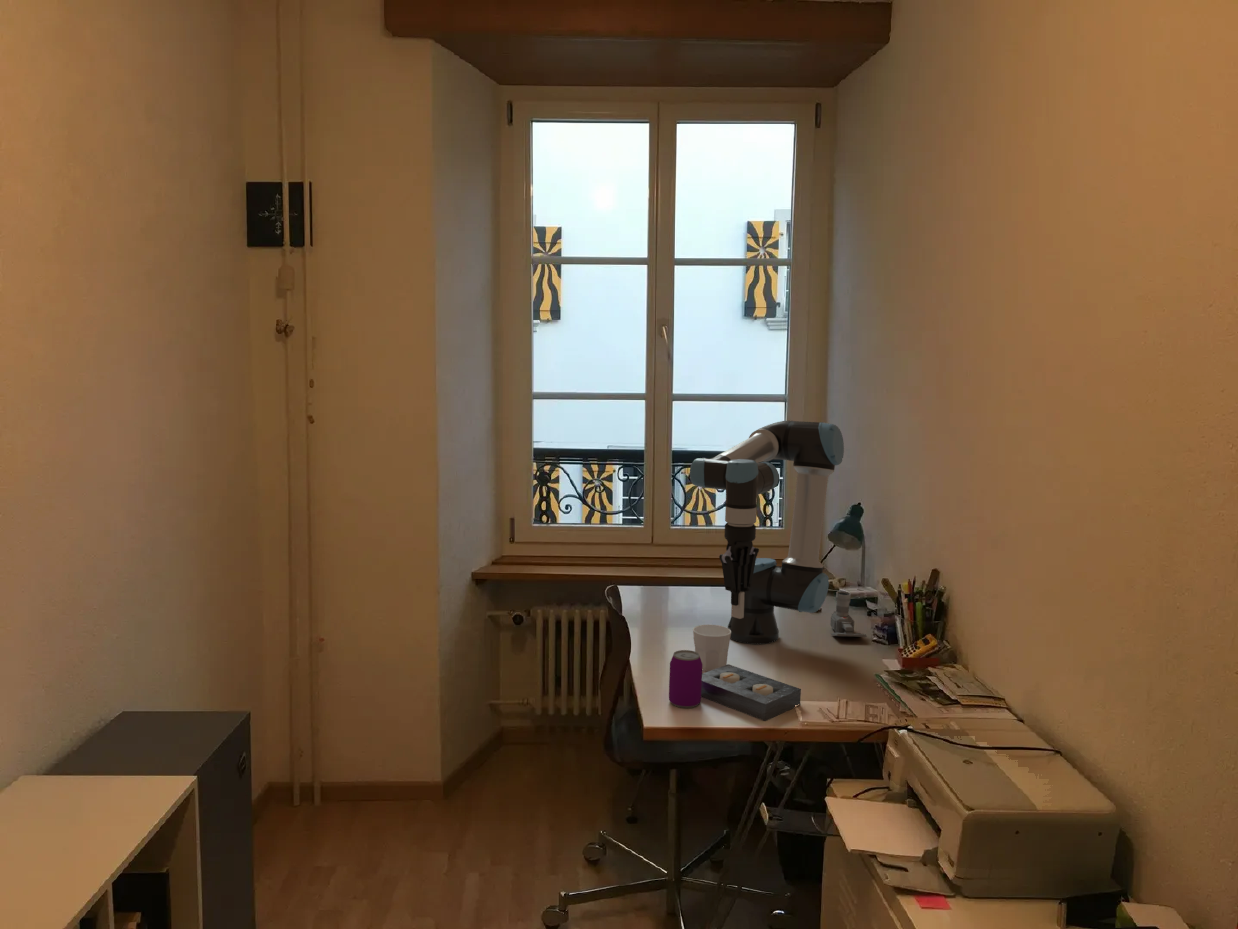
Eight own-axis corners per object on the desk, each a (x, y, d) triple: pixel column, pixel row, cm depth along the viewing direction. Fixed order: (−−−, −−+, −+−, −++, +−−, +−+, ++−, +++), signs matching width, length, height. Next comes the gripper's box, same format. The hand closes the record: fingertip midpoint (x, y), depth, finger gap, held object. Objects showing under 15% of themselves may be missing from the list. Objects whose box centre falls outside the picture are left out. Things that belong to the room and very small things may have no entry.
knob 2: (759, 698, 211) (760, 681, 210) (776, 704, 207) (777, 687, 207) (747, 703, 207) (748, 686, 207) (764, 709, 204) (765, 692, 203)
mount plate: (727, 679, 224) (728, 664, 223) (800, 705, 208) (801, 689, 207) (691, 693, 214) (692, 677, 213) (764, 721, 198) (765, 704, 198)
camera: (854, 590, 268) (868, 605, 253) (852, 627, 270) (866, 644, 255) (826, 589, 268) (838, 604, 253) (824, 626, 270) (836, 643, 255)
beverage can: (664, 706, 205) (666, 657, 204) (674, 694, 212) (675, 647, 211) (695, 711, 203) (697, 662, 201) (704, 699, 210) (706, 651, 208)
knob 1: (727, 686, 218) (728, 669, 217) (742, 691, 214) (743, 675, 214) (715, 691, 214) (715, 674, 214) (730, 696, 211) (731, 680, 210)
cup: (691, 659, 238) (692, 624, 237) (727, 660, 237) (729, 625, 236) (692, 672, 228) (694, 635, 227) (731, 673, 228) (732, 637, 226)
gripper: (744, 517, 219) (741, 608, 222) (711, 524, 210) (708, 619, 213) (768, 522, 214) (765, 614, 217) (735, 530, 205) (732, 626, 208)
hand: (737, 616), depth 215 cm, fingers closed
